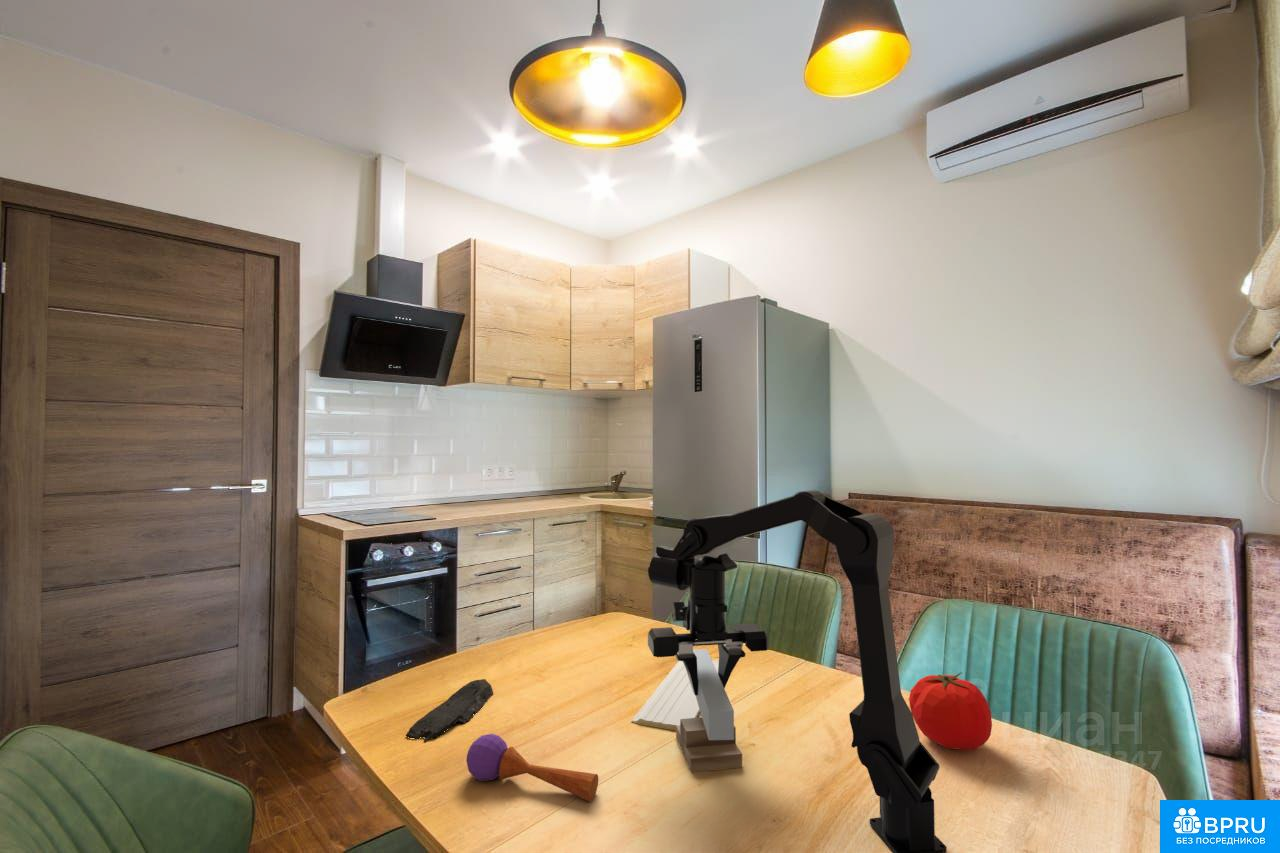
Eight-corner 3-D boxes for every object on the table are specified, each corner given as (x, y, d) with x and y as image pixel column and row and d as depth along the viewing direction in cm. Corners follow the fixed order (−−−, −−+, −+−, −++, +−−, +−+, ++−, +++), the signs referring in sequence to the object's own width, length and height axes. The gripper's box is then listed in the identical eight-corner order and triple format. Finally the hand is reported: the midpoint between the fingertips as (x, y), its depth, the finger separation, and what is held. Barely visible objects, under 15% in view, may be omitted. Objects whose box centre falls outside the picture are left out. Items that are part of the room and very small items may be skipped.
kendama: (584, 785, 74) (457, 748, 80) (584, 824, 75) (459, 784, 81) (602, 753, 79) (481, 721, 86) (601, 790, 80) (482, 755, 87)
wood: (440, 748, 91) (440, 729, 91) (401, 741, 93) (402, 722, 93) (508, 691, 112) (508, 676, 112) (475, 687, 114) (476, 672, 114)
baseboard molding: (623, 724, 99) (689, 736, 95) (623, 708, 99) (688, 719, 95) (674, 661, 128) (726, 669, 124) (674, 648, 128) (726, 655, 124)
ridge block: (742, 767, 85) (742, 737, 85) (691, 772, 83) (691, 741, 84) (722, 734, 95) (722, 707, 95) (676, 737, 93) (676, 710, 93)
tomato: (994, 740, 93) (992, 672, 93) (991, 773, 83) (989, 697, 84) (915, 720, 100) (914, 656, 100) (904, 748, 90) (903, 678, 90)
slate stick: (734, 739, 77) (733, 710, 78) (709, 740, 77) (708, 710, 77) (707, 671, 101) (707, 648, 102) (688, 671, 101) (687, 649, 101)
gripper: (745, 581, 99) (745, 670, 99) (642, 585, 96) (642, 677, 96) (769, 597, 88) (770, 697, 88) (654, 602, 85) (654, 706, 85)
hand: (707, 693), depth 89 cm, fingers closed on slate stick, 4 cm apart
